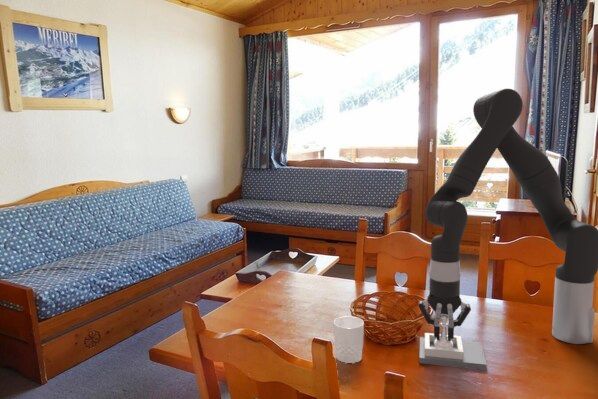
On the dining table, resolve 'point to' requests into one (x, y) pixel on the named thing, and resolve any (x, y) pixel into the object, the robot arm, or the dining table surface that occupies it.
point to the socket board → (452, 353)
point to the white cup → (348, 338)
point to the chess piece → (443, 335)
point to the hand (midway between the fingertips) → (443, 338)
